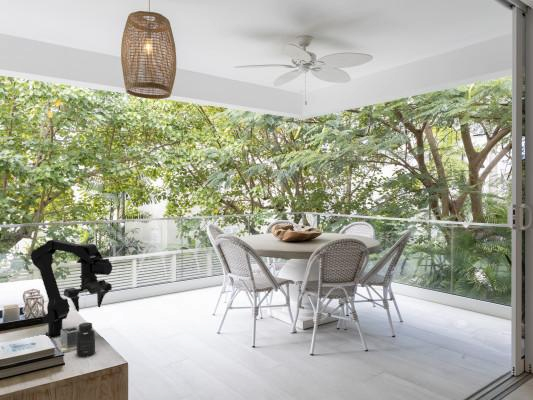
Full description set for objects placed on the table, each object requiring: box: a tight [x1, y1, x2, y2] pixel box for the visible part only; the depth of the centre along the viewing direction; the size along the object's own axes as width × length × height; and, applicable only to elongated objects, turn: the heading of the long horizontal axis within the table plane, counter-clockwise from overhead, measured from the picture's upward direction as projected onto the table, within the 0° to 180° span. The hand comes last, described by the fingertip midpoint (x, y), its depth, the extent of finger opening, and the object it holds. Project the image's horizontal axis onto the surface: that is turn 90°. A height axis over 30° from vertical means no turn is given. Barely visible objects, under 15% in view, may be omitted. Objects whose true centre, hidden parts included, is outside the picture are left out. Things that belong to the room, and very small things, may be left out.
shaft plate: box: [58, 344, 77, 353], centre depth 174 cm, size 7×10×5 cm
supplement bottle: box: [76, 322, 96, 358], centre depth 167 cm, size 7×7×12 cm
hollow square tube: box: [60, 325, 79, 349], centre depth 174 cm, size 6×6×6 cm
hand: (88, 309), depth 183 cm, fingers open, 9 cm apart
